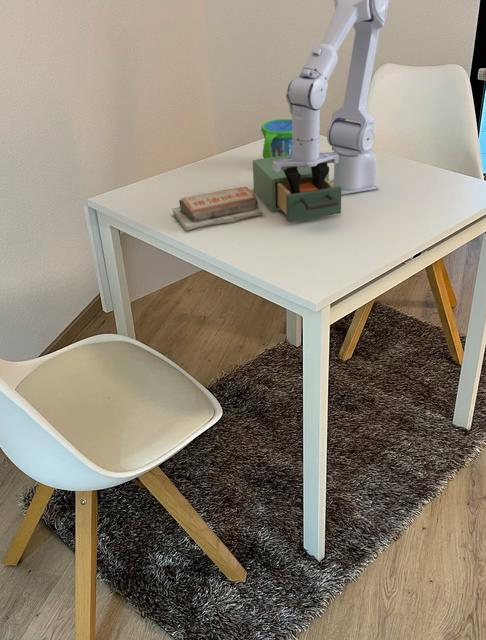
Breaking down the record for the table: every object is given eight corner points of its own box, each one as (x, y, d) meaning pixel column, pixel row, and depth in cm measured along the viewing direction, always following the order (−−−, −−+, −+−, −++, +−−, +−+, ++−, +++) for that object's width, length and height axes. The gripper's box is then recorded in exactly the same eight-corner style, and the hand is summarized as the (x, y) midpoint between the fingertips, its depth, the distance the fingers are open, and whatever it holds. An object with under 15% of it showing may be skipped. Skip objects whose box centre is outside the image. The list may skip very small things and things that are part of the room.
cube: (310, 199, 164) (310, 182, 162) (317, 205, 161) (317, 188, 159) (294, 202, 163) (294, 185, 161) (300, 208, 160) (300, 191, 158)
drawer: (349, 221, 156) (350, 195, 153) (296, 230, 153) (296, 204, 150) (319, 193, 170) (319, 169, 166) (269, 201, 166) (268, 176, 163)
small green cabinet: (328, 202, 167) (328, 170, 163) (272, 212, 164) (271, 179, 159) (306, 182, 178) (306, 152, 173) (253, 190, 174) (252, 159, 170)
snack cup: (280, 177, 181) (279, 137, 175) (248, 169, 186) (246, 129, 181) (317, 160, 191) (317, 120, 185) (285, 152, 196) (285, 114, 191)
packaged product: (244, 180, 167) (262, 195, 159) (245, 200, 169) (262, 216, 162) (169, 194, 161) (184, 210, 153) (172, 215, 163) (186, 232, 156)
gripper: (280, 147, 148) (281, 209, 156) (345, 138, 152) (343, 199, 160) (268, 137, 154) (270, 198, 162) (331, 128, 158) (330, 188, 165)
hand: (305, 198), depth 161 cm, fingers closed on cube, 4 cm apart
